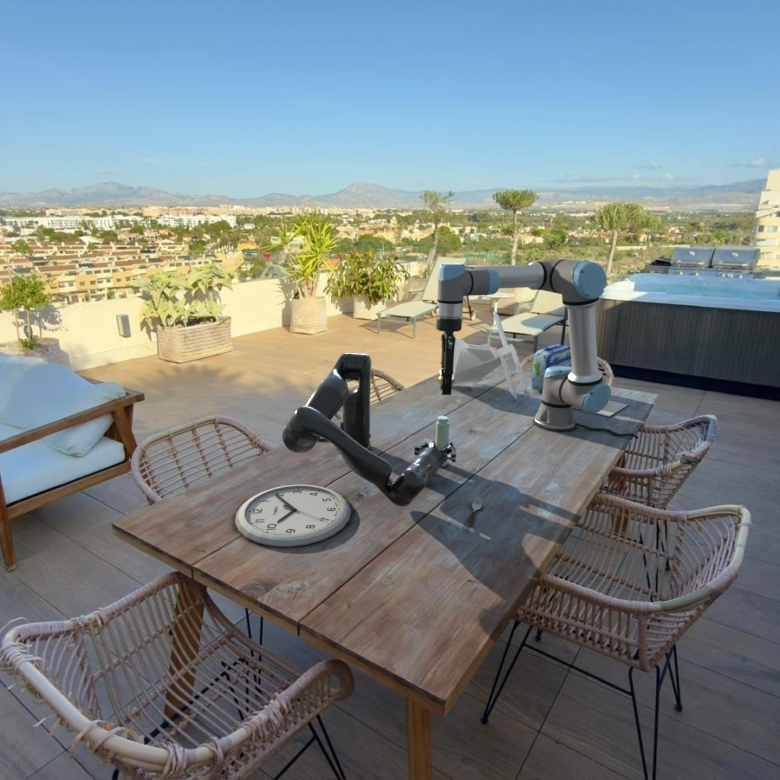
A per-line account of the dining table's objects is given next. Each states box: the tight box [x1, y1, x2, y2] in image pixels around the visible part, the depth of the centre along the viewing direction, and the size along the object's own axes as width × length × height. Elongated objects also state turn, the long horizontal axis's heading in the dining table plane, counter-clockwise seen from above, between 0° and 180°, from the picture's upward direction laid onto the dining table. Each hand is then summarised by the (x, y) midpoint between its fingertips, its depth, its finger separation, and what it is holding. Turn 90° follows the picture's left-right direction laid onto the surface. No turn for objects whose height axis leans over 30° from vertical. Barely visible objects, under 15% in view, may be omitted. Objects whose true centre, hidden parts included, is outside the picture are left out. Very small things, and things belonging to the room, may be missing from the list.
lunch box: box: [530, 344, 572, 392], centre depth 247 cm, size 26×11×21 cm, turn 134°
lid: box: [437, 375, 455, 386], centre depth 161 cm, size 5×5×2 cm
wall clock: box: [234, 484, 352, 548], centre depth 138 cm, size 30×2×30 cm
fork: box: [466, 495, 484, 530], centre depth 138 cm, size 3×16×2 cm, turn 160°
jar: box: [434, 415, 450, 468], centre depth 167 cm, size 4×4×16 cm
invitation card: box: [573, 399, 629, 418], centre depth 226 cm, size 21×1×15 cm
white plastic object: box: [438, 310, 531, 400], centre depth 245 cm, size 37×45×31 cm
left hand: (444, 443), depth 169 cm, fingers closed on jar, 4 cm apart
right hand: (445, 391), depth 162 cm, fingers closed on lid, 5 cm apart
